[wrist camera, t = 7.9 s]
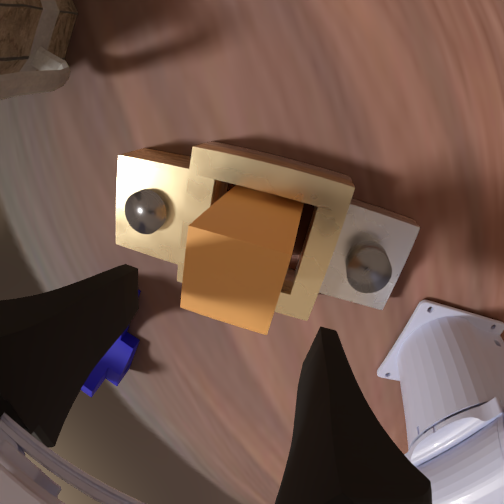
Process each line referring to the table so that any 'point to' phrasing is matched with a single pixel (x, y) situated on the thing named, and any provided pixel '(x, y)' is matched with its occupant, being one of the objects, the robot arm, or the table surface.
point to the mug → (34, 45)
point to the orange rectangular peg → (240, 257)
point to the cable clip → (113, 363)
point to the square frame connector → (278, 183)
